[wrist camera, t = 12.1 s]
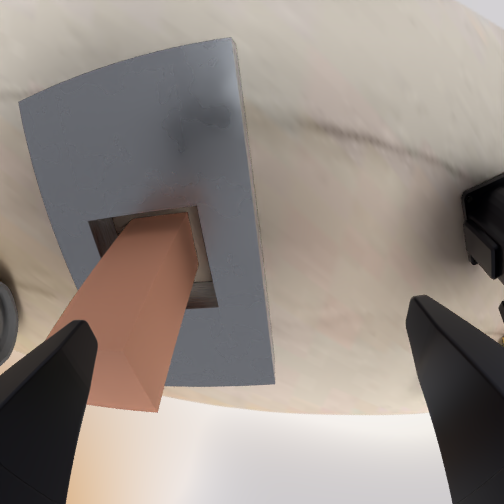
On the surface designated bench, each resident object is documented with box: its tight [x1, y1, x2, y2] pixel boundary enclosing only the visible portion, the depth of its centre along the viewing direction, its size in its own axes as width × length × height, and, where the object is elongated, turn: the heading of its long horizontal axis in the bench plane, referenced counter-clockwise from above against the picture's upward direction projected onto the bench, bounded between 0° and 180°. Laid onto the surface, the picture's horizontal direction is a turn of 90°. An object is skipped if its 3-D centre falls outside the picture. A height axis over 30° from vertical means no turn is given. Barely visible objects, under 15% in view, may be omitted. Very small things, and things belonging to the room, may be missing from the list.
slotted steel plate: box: [19, 37, 275, 387], centre depth 21 cm, size 13×24×3 cm, turn 7°
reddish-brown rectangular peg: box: [45, 212, 199, 412], centre depth 17 cm, size 4×4×12 cm
